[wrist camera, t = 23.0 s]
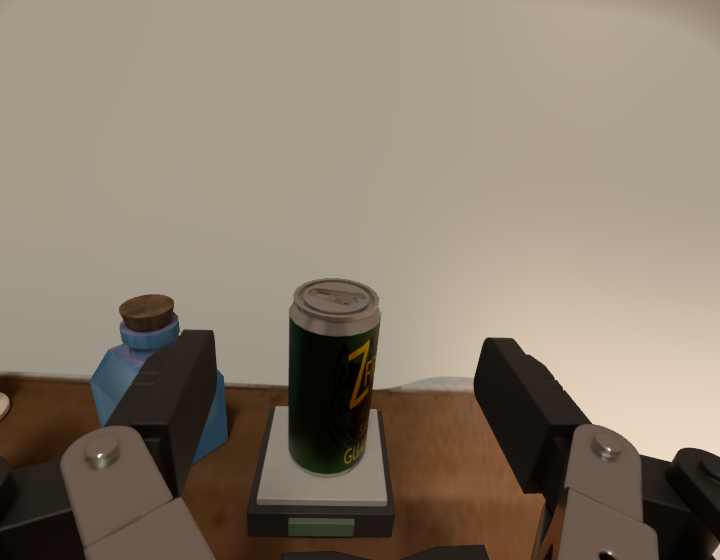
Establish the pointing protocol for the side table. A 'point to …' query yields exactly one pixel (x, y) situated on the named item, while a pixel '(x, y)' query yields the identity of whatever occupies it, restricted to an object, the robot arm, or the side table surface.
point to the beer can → (331, 374)
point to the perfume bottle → (142, 339)
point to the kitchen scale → (320, 490)
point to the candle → (4, 405)
